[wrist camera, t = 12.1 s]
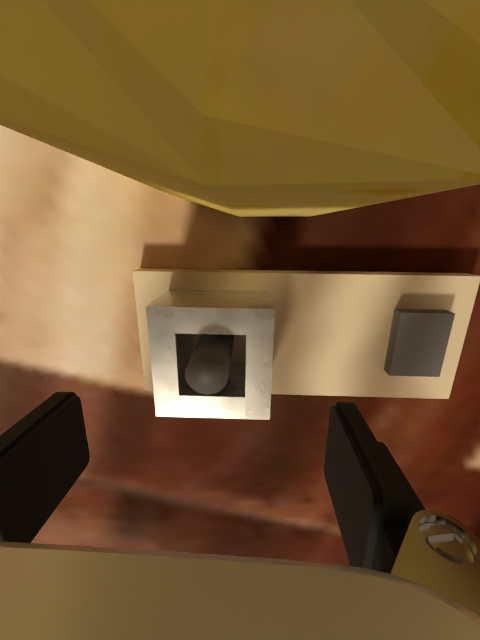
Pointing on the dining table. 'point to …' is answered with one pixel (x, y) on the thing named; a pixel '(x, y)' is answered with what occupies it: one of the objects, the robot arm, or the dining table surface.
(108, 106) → the cheese
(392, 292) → the peg board
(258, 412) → the link
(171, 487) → the dining table surface
